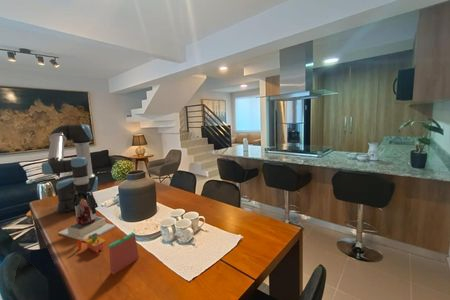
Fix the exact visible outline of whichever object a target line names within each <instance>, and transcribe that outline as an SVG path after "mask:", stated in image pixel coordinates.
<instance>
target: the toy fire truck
mask: <svg viewBox="0 0 450 300" xmlns="http://www.w3.org/2000/svg"><path fill="white" fill-rule="evenodd" d="M79 209H80V216H76V219H75V220H76V222H77V223H81V225H85V224H86V223H87V222H93V221H95V219H93V220H91V215H90V209H91V208H90V207H89V205H88V206H87V205H85V204H82V203H81V205H79Z"/></svg>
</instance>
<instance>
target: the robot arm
mask: <svg viewBox="0 0 450 300" xmlns="http://www.w3.org/2000/svg"><path fill="white" fill-rule="evenodd" d="M92 140H93V135H92V131H91V128H90V125H89V124H85V123H84V124H82V123H80V124H63V125H60V126H57V127H56V128H54V129H53V130H52V131H51V132H50V134H49V137H48V141H49V150H48V156H47V161H45V162H42V163H41V172H42V174H43V175H44V176H49V175H52V176H53V175H58V174H59V175H60V174H65V173H72V177H71V178H69V177H68V178H66V179H63V180H59V181H58V182H56V184H55V187H56V188H55V189H56V195H57V199H58V202H57V206H56V212H57V214H68V213H72V212H75V215H76V217H78V216H80V209H79V205H81V204H82V203H81V201H82V200H84V201H86V204H87V205H88V207H89V209H90V215H91V220H93V219H95V218H96V216H97V211H96V208H99V205H98V203H97V201H96V199H95V197H94V194H93V193H96V192H97V190H98V183H99V182H98V181H99V180H98V179H99V178H98V176H96V174H94V173H93V166H92V159H91V150H90V144H91V142H92ZM67 142H71V143H72V144H74V146H75V152H76V157H72V158H71V159H65V160H64V157H65V143H67Z"/></svg>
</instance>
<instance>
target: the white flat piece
mask: <svg viewBox="0 0 450 300" xmlns="http://www.w3.org/2000/svg"><path fill="white" fill-rule="evenodd" d="M106 220H107V219H106V218H105V217H102V216H97V215H96V218H95V221H93V222H87V223H86V224H85V225H81V223H78V222H77V223H74V224H72V225H69V226H67V227H66V228H65V229H63V230H61V231H59V232H58V234H59V235H62V236H65V237H68V238H72V239H76V240H78V238H79V237H80V238H81V240H82V241H83V242H85V241H84V239H86V238H89V237H88V236H90V235H92V234H94V233H97V234H99V236H98V237H100V236H102V235H104V234H105V233H107V232H109V231H110V230H113V229H115V228H116V227H117V225H116V224H111V223H109V222H108V223H107V221H106ZM82 241H81V242H82Z"/></svg>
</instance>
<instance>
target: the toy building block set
mask: <svg viewBox="0 0 450 300" xmlns="http://www.w3.org/2000/svg"><path fill="white" fill-rule="evenodd" d="M135 234H136V233H135V232H131V233H129V234H127V235H125V236H121V237H120V238H119V239H118V240H115V241H113V242H112V243H110V244H108V246H109V247H108V249H109V250H108V251H109V263H110V265H109V266H110V274H111V275H116V273H118V272H120V271H121V270H124V269H125V268H126V267H127V266H129V265H131V264H132V263H133V262H135V261H137V260H138V259H139V258H140V257H139V251H138V245H137V239H136V235H135ZM88 237H89V238H86V239H84V241H83V242H85V243H86V246H87V249H89V250H91V251H93V253H96V254H98V253H99V251H103V250H104V245H103V244H104V243H105V242H106V239H103V238H101V237H100V236H99V234H97V233H94V234H92V235H90V236H88ZM77 245H78V249H77V250H78V251H81V250H82V240H81V238H80V237H79V238H78V239H77Z"/></svg>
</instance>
